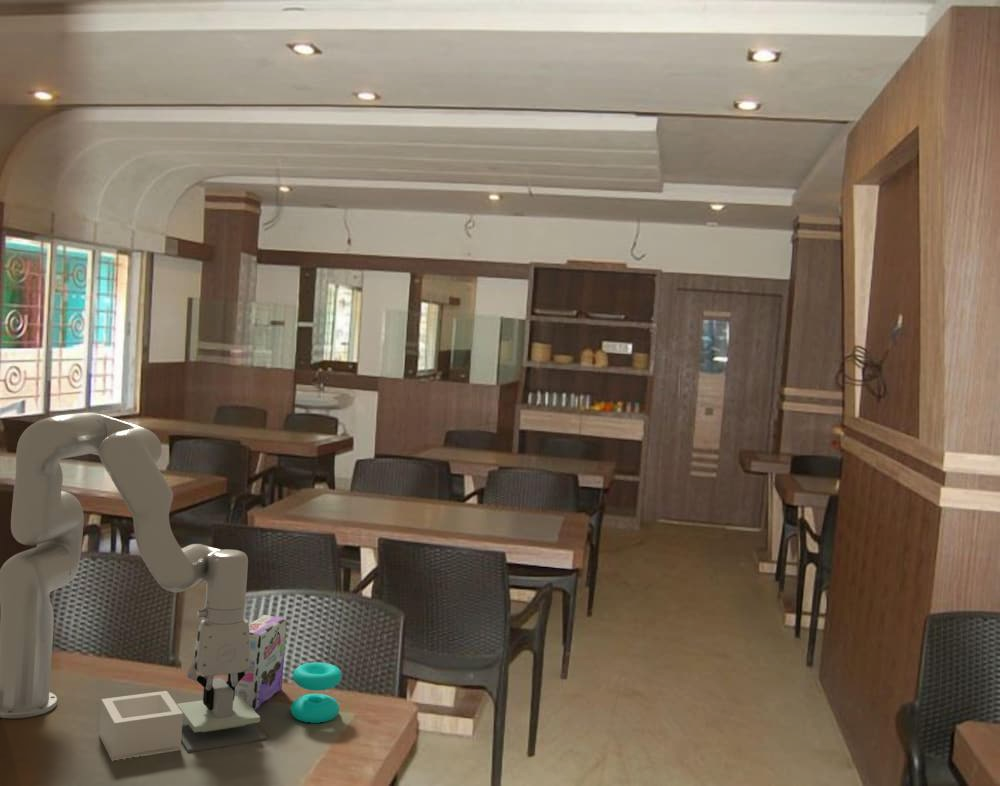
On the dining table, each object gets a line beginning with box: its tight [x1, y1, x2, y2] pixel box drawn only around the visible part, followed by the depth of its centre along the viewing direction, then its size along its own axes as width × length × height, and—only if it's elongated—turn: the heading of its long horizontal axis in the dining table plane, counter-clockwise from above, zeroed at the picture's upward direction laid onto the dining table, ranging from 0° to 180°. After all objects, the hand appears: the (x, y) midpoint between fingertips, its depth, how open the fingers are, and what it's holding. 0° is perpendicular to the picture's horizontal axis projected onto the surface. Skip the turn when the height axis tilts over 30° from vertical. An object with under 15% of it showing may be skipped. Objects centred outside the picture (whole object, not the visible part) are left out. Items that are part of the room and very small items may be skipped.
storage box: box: [98, 690, 183, 762], centre depth 176 cm, size 12×12×7 cm
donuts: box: [290, 661, 343, 724], centre depth 195 cm, size 10×10×10 cm
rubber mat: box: [181, 718, 268, 753], centre depth 184 cm, size 15×15×1 cm
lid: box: [176, 677, 261, 732], centre depth 183 cm, size 13×13×7 cm
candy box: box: [235, 614, 288, 712], centre depth 201 cm, size 14×6×16 cm, turn 168°
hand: (218, 705), depth 184 cm, fingers closed on lid, 3 cm apart
